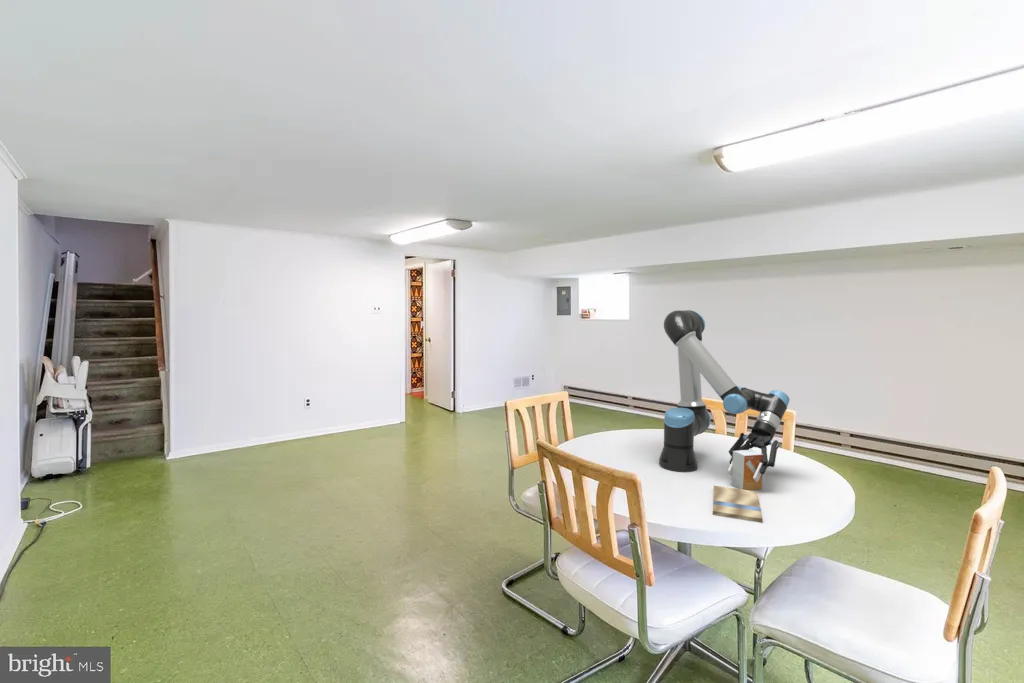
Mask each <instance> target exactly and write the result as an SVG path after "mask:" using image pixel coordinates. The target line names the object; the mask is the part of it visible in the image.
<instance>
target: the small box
mask: <svg viewBox="0 0 1024 683" xmlns="http://www.w3.org/2000/svg"><path fill="white" fill-rule="evenodd" d="M762 457H763V454H762V452H758V451H757V450H753V449H749V450H739V451H733V462H732V475H731V485H732V486H733V487H734V488H736V489H743V490H750V491H757V490H762V489H763V488H762V487H763V474H761V476H760V478H759V480H758V482H755V480H754V478H753V476H754V474H755V472H756V470H757V468H758V466H759V463H762V464H763V462H762V461H763V460H762Z"/></svg>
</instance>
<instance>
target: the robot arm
mask: <svg viewBox="0 0 1024 683" xmlns="http://www.w3.org/2000/svg"><path fill="white" fill-rule="evenodd" d="M705 328H706V322H705V319H704V317H703V316H702V314H701V313H699V312H697V311H694V310H690V309H689V310H673V311H671V312H669V313H668V314H667V315H666V317H665V318H664V321H663V329H664V332H665V334H666V335H667V337H668V338H669V340H670V341H671V342H672V344H673V345H674V346H675V347H677V355H678V356H677V358H678V360H677V361H678V373H679V377H678V378H679V389H680V391H679V392H680V400H679V402H678V403H677V405H676V407H675V408H674V407H673V408H669V409H667V410H666V411H665V412H664V418H663V423H664V424H663V447H662V450H661V453H660V455H659V458H658V464H660V465H661V466H662V467H661V466H660V465H659V466H660V467H661V468H663V467H664V468H663V469H665V468H667V469H666V470H668V469H670V470H669V471H673V470H675V471H674V472H680V471H689V472H694V471H696V470H698V460H697V456H696V453H695V450H694V438H695V437H696V436H698V435H701V434H703V433H704V432H706V431H707V429H708V428H709V427H710V425H711V422H712V421H711V415H710V413H709V411H708V410H707V404H706V403H705V402H704V401H703V398H702V383H701V382H702V381H701V375H702V377H703V378H704V379H705V380H706V382H707V383H708V384H709V385H710V386H711V388H712V389H713V390H714V392H715V393H716V394H717V395H718V397H719V398H720V399H721V401H722V406H723V410H725V411H726V412H727V413H729V414H731V415H738V414H739V415H740V414H741V413H745V411H747V410H753V411H756V412H759V414H758V416H757V418H756V420H755V422H754V424H753V427H752V428H751V432H750V433H749V434H745V433H744V432H741V433H740V434H739V437H738V439H737V440H736V441H735V442H734V444H733V445H732V446H731V448H730V449H729V450H728V453H729V455H730V457H731V458H730V460H729V462H728V463H729V467H728V469H727V471H728V473H729V475H730V476H732V462H733V451H739V450H752V449H753V448H758V449H760V450H761V452H760V453H761V454H763V457H762V460H763V461H762V462H763V464H762V463H759V466H758V468H757V470H756V472H755V474H754V476H753V478H754V480H755V482H758V480H759V478H760V476H761V474H762V475H765V472H767V471H766V470H767V469H768V468H769V467H771V468H774V467H775V464H776V458H777V453H778V452H777V451H778V449H779V447H780V443H779V441H778V440H774V437H775V434H776V432H777V430H778V429H779V426H780V424H781V421H782V419H783V417H784V414H785V413H786V412H787V409H788V405H789V403H790V400H791V399H790V396H789V395H788V394H787V393H786V392H784V391H782V390H778V389H776V390H775V389H774V390H773V389H772V390H770V391H769V392H768V393H763V392H761V391H757V390H754V389H751V388H747V387H745V386H744V387H743V386H738V385H737V384H736V382H734V381H733V379H732V378H731V377H730V376H729V375H728V373H727V371H725V370H724V368H723V367H722V366H721V365H720V364H719V363H718V361H717V360H716V358H714V357H713V355H712V354H711V353H710V352H709V350H708V349H707V348H706V347H705V345H703V344H704V343H702V342H703V332H704V331H705ZM770 445H771V447H770V451H769V457H768V448H767V447H768V446H770ZM693 470H694V471H693Z"/></svg>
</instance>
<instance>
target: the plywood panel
mask: <svg viewBox="0 0 1024 683" xmlns="http://www.w3.org/2000/svg"><path fill="white" fill-rule="evenodd" d="M712 498H713V500H712V515H713V516H718V517H719V516H720V517H726V518H731V519H738V520H743V521H750V522H757V523H764V522H763V519H764V518H763V514H762V508H761V504H760V498H759V494H758V491H757V490H743V489H739V488H736V487H728V486H727V487H726V486H721V485H713V496H712Z"/></svg>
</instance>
